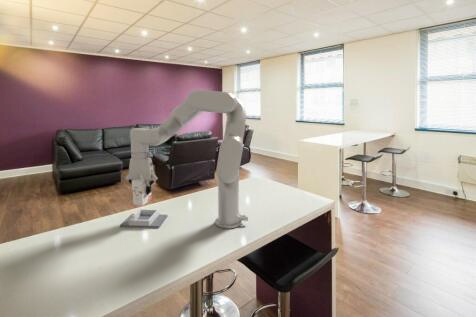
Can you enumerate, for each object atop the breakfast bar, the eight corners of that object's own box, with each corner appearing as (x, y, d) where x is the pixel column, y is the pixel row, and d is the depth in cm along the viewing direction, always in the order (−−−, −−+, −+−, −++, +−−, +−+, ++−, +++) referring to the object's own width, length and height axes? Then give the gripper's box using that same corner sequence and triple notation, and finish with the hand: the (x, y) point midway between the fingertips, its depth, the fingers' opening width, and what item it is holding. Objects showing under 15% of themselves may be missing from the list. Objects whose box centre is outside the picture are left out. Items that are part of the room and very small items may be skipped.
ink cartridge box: (142, 198, 133) (141, 169, 130) (152, 199, 132) (150, 170, 129) (132, 205, 125) (130, 173, 122) (142, 206, 124) (140, 174, 121)
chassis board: (167, 216, 136) (167, 209, 136) (158, 228, 124) (158, 220, 123) (132, 215, 137) (131, 209, 136) (119, 227, 124) (119, 219, 124)
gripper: (161, 154, 127) (162, 191, 131) (125, 153, 128) (127, 190, 132) (156, 157, 120) (157, 197, 124) (117, 156, 121) (120, 195, 124)
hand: (142, 193), depth 128 cm, fingers closed on ink cartridge box, 5 cm apart
